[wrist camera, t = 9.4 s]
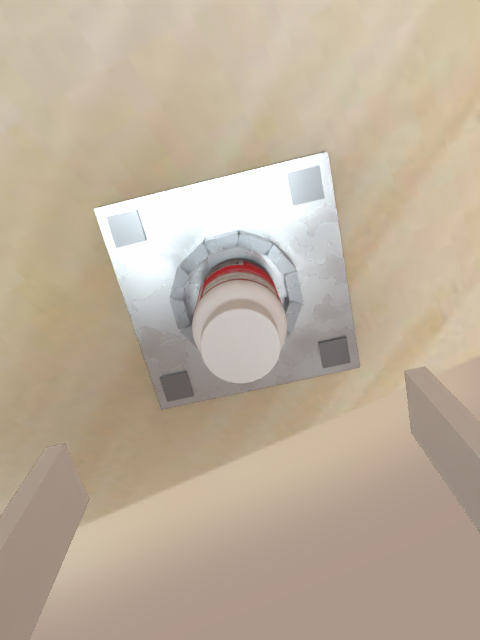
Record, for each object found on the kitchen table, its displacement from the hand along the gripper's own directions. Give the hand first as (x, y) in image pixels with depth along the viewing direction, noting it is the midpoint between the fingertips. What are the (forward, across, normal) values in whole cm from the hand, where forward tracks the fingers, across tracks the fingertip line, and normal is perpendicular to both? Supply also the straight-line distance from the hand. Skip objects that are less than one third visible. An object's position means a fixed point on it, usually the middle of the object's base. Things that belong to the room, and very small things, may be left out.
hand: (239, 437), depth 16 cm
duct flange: (+20, 0, 0) cm, 21 cm away
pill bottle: (+20, 0, 0) cm, 20 cm away
